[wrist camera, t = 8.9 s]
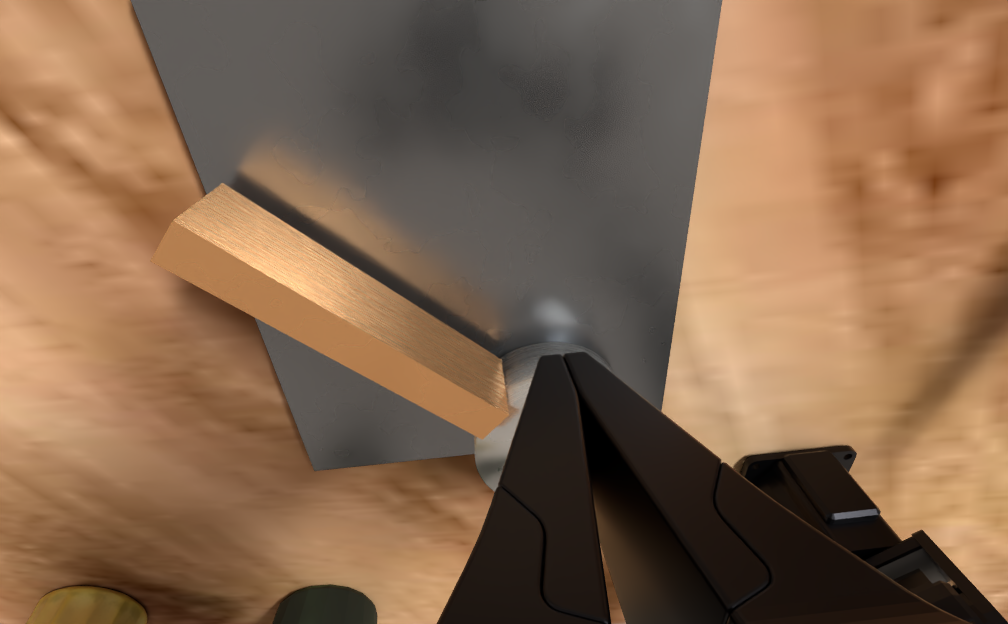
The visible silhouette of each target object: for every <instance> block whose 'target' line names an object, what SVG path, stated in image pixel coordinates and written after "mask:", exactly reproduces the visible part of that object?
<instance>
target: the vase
mask: <svg viewBox="0 0 1008 624" xmlns="http://www.w3.org/2000/svg"><path fill="white" fill-rule="evenodd" d="M26 624H147V614H146V611H145V609H144V608H143V607H142V606H141V605H140V604H139V603H138V602H137V601H135V600H134V599H132V598H131V597H129V596H127V595H125V594H123V593H120V592H117V591H114V590H110V589H106V588H101V587H92V586H73V587H67V588H62V589H58V590H55V591H52V592H50V593H48V594H47V595H45V596H44V597H43V598H42V599H40V601H39V602H38V604H37V605H36V607H35V609H34V611H33V613H32V615H31V616H30V618H29V619H28V621H27V623H26Z"/></svg>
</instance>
